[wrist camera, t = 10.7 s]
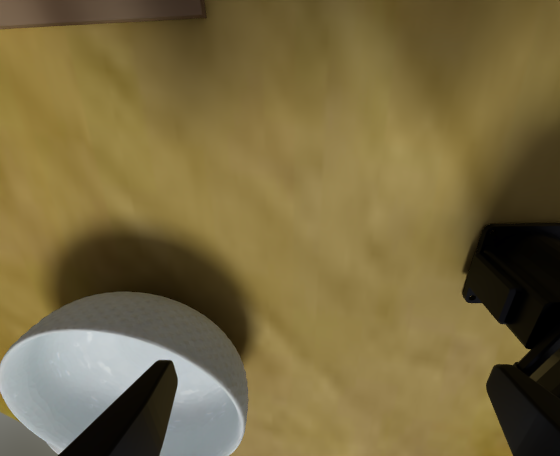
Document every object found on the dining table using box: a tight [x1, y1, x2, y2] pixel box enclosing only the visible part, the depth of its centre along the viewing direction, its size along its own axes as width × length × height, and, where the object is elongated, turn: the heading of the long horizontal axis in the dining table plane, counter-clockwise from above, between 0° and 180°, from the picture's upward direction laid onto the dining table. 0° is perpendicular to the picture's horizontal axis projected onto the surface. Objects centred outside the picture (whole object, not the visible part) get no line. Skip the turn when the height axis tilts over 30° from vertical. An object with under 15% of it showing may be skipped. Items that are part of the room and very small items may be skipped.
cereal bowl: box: [0, 291, 248, 456], centre depth 23 cm, size 17×17×7 cm
